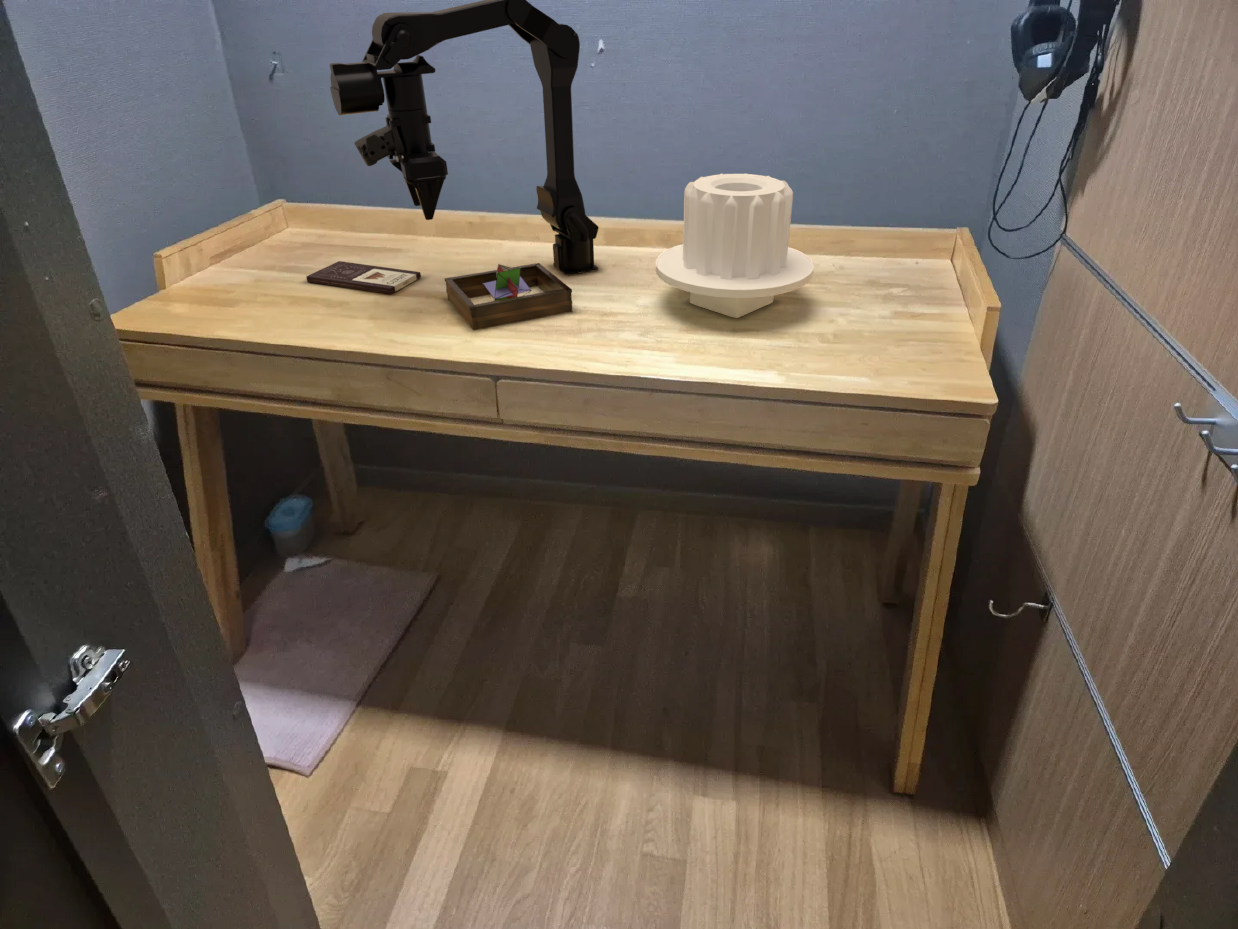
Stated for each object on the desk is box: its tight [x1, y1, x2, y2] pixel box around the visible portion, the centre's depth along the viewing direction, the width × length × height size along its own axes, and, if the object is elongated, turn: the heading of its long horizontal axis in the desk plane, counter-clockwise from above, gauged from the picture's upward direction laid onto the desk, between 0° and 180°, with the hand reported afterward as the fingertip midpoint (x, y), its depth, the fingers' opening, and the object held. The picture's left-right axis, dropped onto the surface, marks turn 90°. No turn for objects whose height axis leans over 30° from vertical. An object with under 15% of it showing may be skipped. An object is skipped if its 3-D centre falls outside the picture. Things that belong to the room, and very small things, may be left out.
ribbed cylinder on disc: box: [655, 172, 815, 319], centre depth 128 cm, size 25×25×19 cm
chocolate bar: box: [305, 260, 422, 295], centre depth 145 cm, size 9×1×18 cm
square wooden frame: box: [444, 262, 573, 331], centre depth 133 cm, size 17×15×4 cm
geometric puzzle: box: [482, 263, 532, 302], centre depth 132 cm, size 7×7×8 cm
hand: (423, 212), depth 131 cm, fingers open, 9 cm apart
